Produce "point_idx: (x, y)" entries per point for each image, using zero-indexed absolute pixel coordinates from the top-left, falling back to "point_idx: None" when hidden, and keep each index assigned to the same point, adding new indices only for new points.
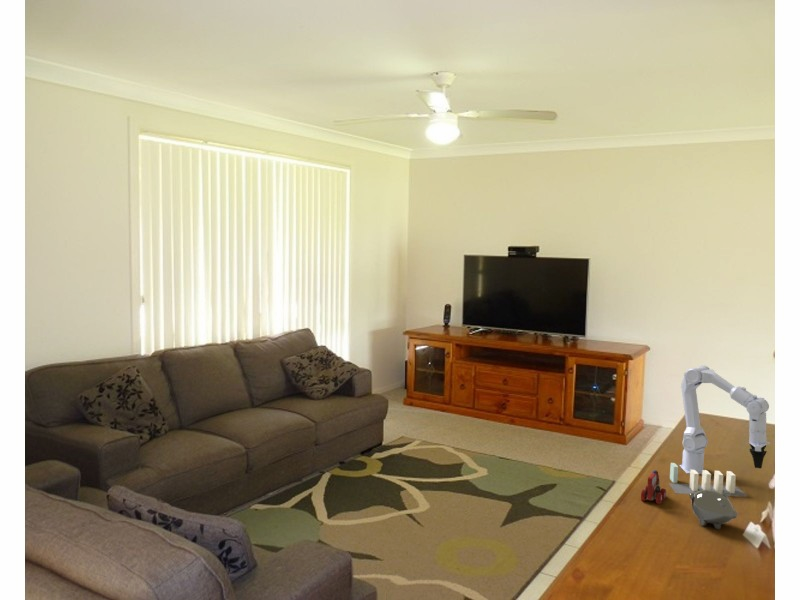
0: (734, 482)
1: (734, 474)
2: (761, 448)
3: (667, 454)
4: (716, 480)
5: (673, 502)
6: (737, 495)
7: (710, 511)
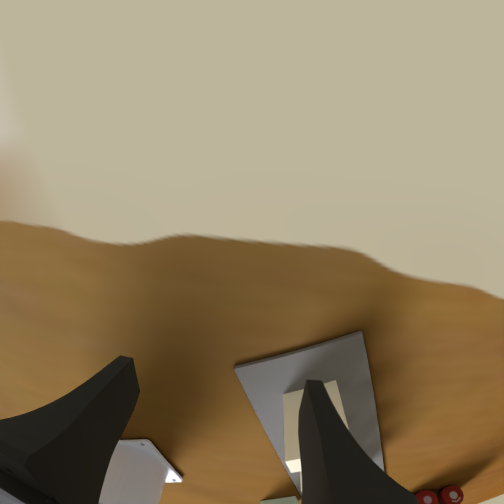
0: (345, 419)
1: None
2: (67, 458)
3: None
4: None
5: (439, 476)
6: (359, 370)
7: None
